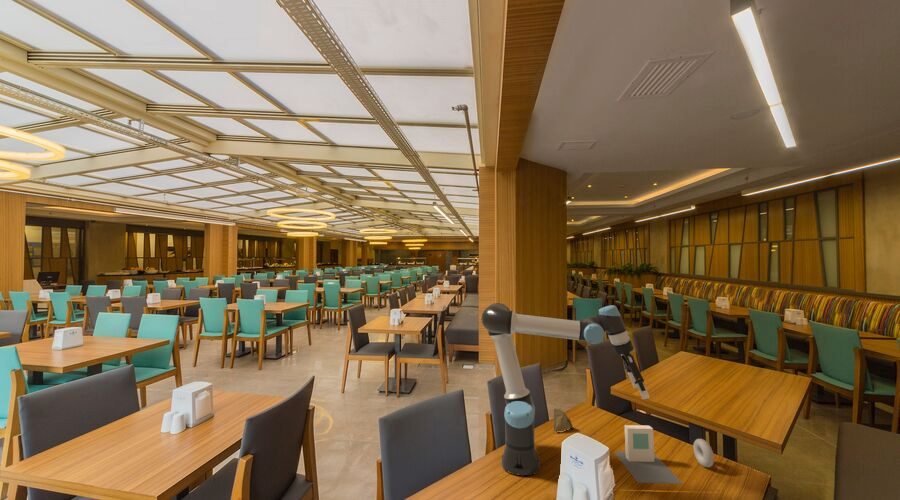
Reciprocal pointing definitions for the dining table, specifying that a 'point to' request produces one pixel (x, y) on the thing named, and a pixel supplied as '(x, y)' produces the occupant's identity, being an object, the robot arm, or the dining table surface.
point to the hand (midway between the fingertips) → (641, 392)
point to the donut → (703, 453)
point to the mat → (649, 470)
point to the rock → (561, 421)
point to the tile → (639, 443)
